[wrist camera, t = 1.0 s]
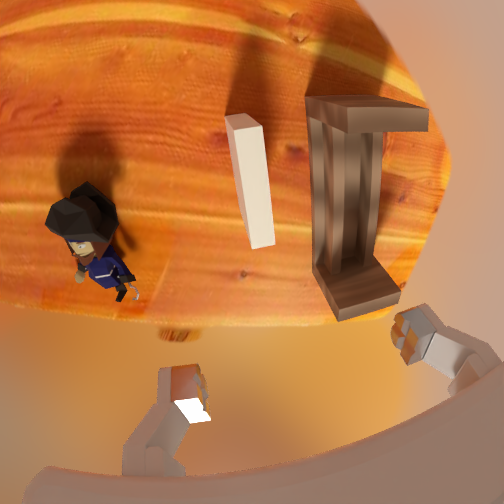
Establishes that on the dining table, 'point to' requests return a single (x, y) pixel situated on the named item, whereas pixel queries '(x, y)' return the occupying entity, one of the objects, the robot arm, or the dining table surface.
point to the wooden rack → (351, 195)
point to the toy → (91, 237)
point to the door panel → (251, 178)
